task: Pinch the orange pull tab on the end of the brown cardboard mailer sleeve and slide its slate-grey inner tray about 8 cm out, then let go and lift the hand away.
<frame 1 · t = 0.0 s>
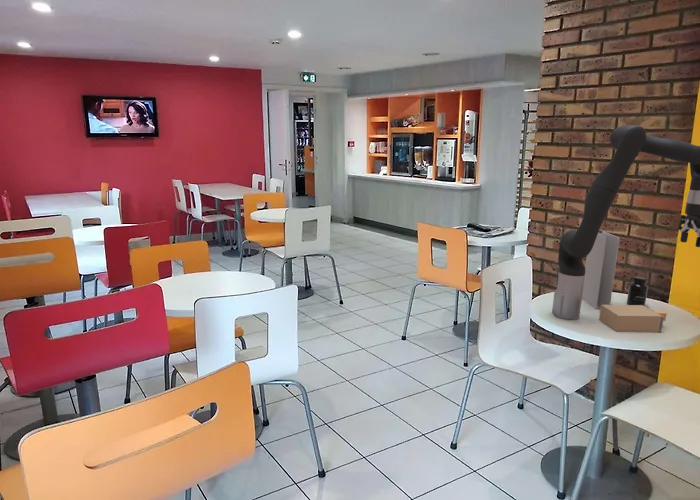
hand: (690, 244, 196), 29 cm above the table, tool pointing down, fingers open, 8 cm apart
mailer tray: (637, 317, 191), point 3 cm above the table, slide at 0.0 cm
mailer sleeve: (628, 325, 192), on the table
grey standing panel: (594, 304, 216), on the table
supplement bottle: (635, 305, 216), on the table
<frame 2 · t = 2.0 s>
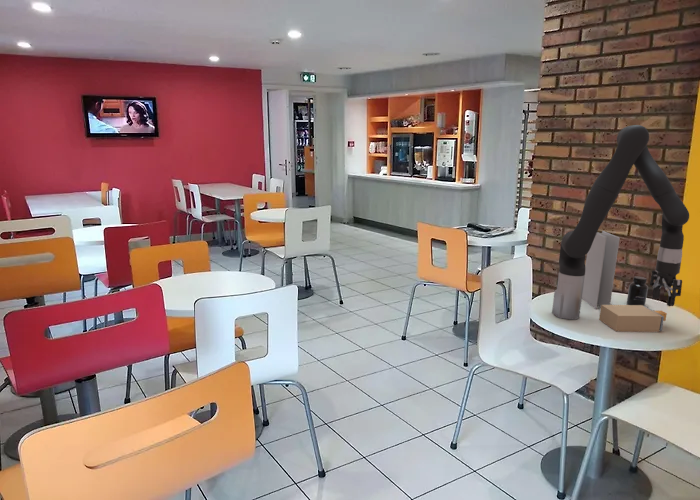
hand: (662, 302, 190), 9 cm above the table, tool pointing down, fingers open, 8 cm apart
nothing on the table moved.
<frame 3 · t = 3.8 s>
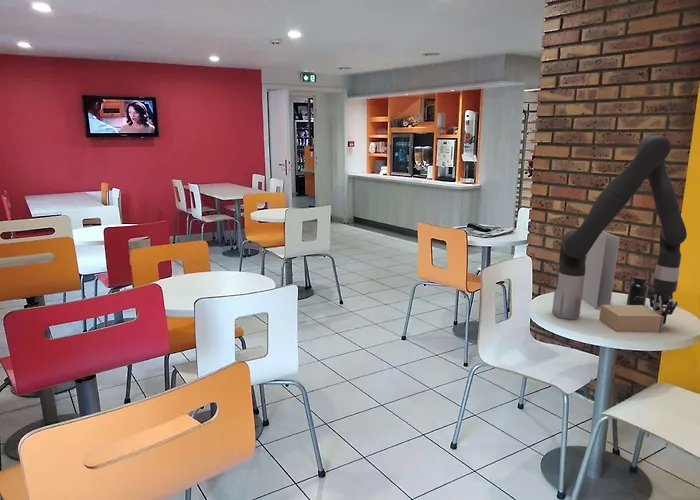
hand: (658, 321, 192), 2 cm above the table, tool pointing down, fingers closed on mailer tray, 3 cm apart
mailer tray: (637, 317, 191), point 3 cm above the table, slide at 0.0 cm, touching gripper
everything else where it was.
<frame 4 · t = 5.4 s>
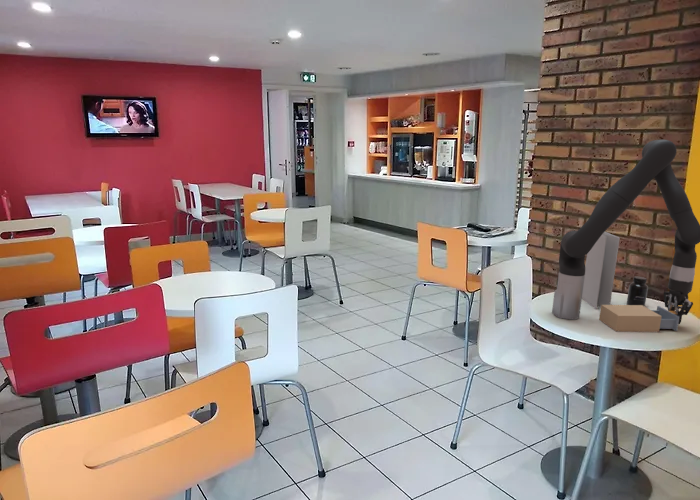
hand: (673, 321, 192), 2 cm above the table, tool pointing down, fingers closed on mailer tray, 3 cm apart
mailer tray: (652, 317, 192), point 3 cm above the table, slide at 5.8 cm, touching gripper
everything else where it was.
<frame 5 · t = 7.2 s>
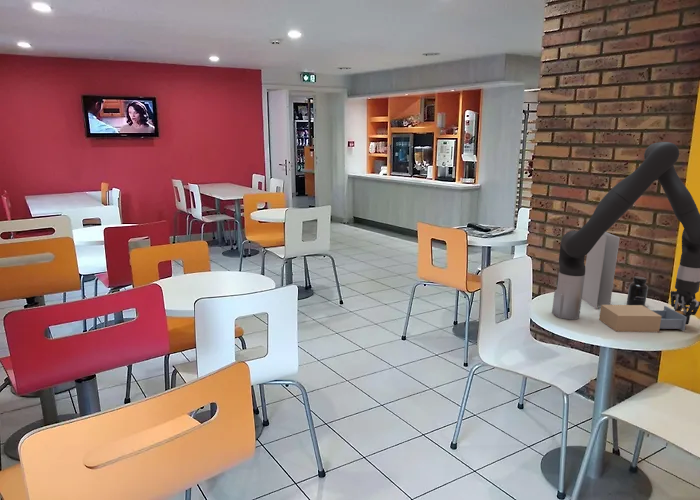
hand: (680, 321, 192), 2 cm above the table, tool pointing down, fingers open, 4 cm apart
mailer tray: (659, 318, 192), point 3 cm above the table, slide at 8.5 cm
everything else where it was.
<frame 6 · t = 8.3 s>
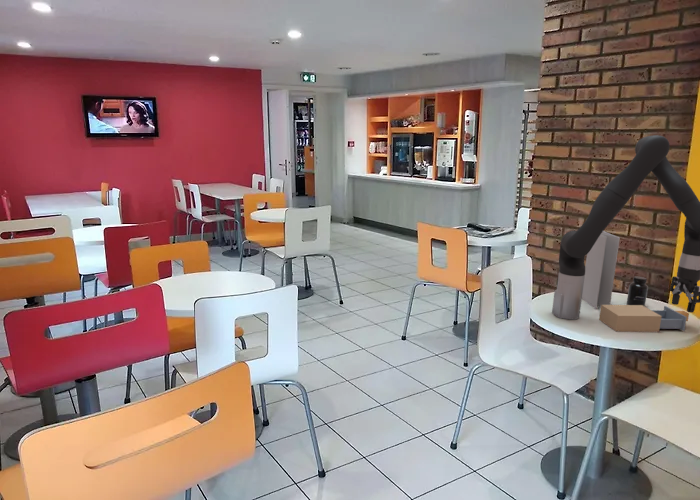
hand: (682, 308, 191), 7 cm above the table, tool pointing down, fingers open, 8 cm apart
nothing on the table moved.
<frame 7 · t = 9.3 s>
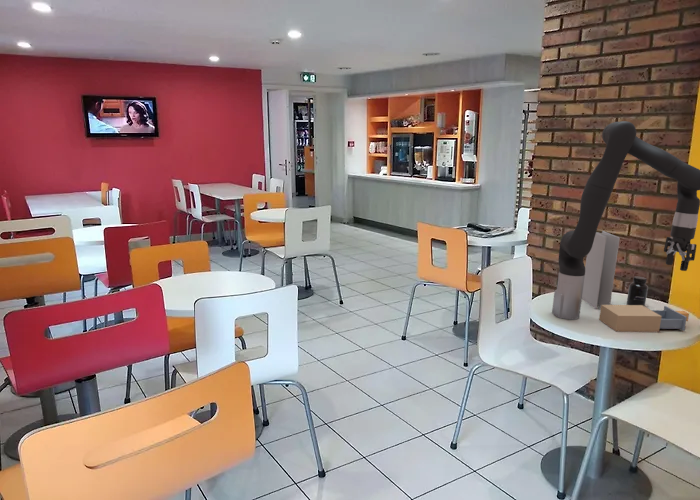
hand: (676, 267, 192), 22 cm above the table, tool pointing down, fingers open, 8 cm apart
nothing on the table moved.
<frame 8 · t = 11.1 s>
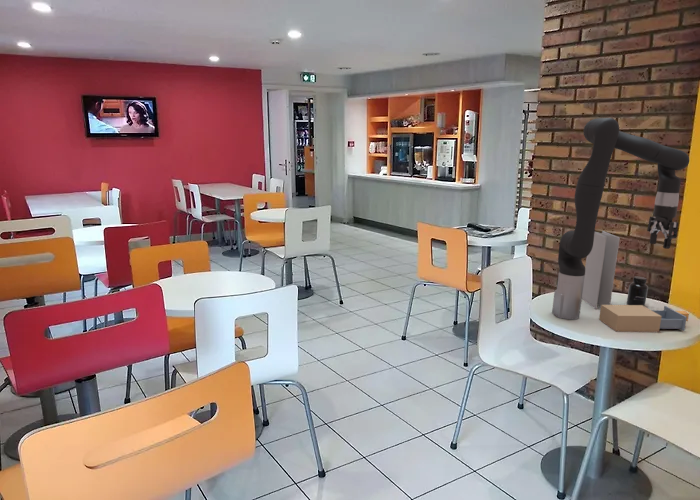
hand: (659, 245, 198), 28 cm above the table, tool pointing down, fingers open, 8 cm apart
nothing on the table moved.
at the end: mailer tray slide at 8.5 cm; the gripper is holding nothing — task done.
